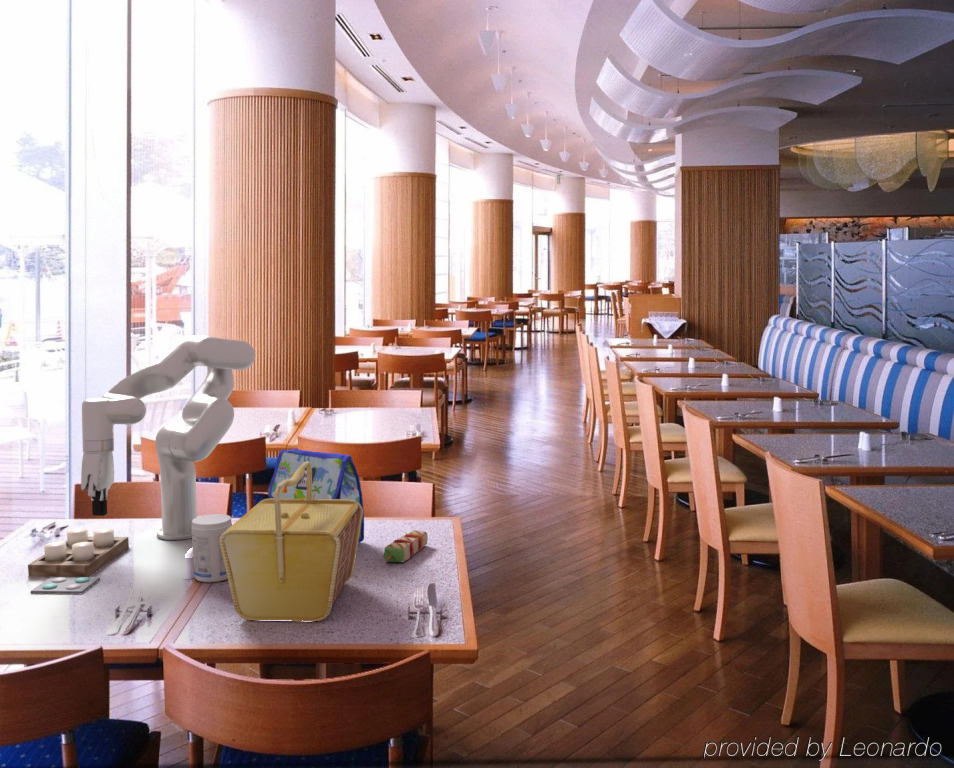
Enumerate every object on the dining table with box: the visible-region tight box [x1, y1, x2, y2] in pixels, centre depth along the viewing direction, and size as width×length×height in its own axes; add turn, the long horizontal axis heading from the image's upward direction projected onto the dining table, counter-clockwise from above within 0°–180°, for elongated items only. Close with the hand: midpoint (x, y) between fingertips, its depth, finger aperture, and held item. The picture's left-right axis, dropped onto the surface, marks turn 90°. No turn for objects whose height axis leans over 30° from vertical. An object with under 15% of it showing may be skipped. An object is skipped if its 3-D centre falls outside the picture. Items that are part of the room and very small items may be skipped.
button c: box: [72, 542, 94, 561], centre depth 229 cm, size 5×5×4 cm
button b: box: [66, 527, 89, 547], centre depth 241 cm, size 5×5×4 cm
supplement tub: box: [191, 513, 233, 583], centre depth 223 cm, size 10×10×15 cm
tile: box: [30, 576, 102, 594], centre depth 217 cm, size 12×10×1 cm
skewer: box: [382, 530, 429, 563], centre depth 240 cm, size 21×6×5 cm, turn 160°
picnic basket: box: [219, 461, 364, 622], centre depth 205 cm, size 29×26×30 cm
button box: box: [27, 536, 130, 578], centre depth 235 cm, size 15×24×3 cm, turn 179°
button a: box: [92, 528, 115, 547], centre depth 241 cm, size 5×5×4 cm
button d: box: [43, 541, 67, 561], centre depth 229 cm, size 5×5×4 cm
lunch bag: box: [267, 448, 365, 544], centre depth 248 cm, size 22×17×26 cm
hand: (99, 514), depth 239 cm, fingers closed
